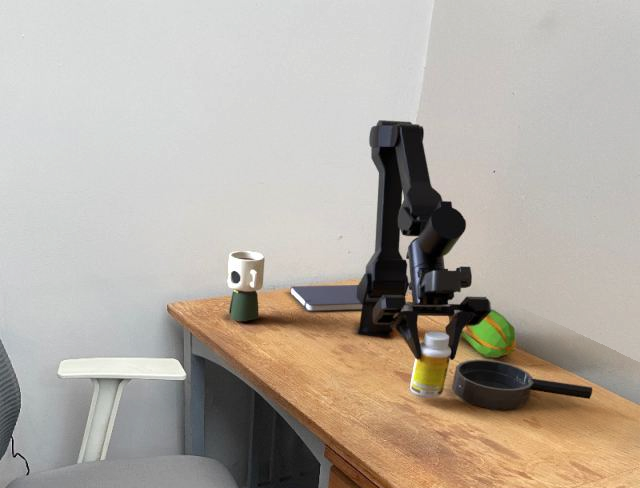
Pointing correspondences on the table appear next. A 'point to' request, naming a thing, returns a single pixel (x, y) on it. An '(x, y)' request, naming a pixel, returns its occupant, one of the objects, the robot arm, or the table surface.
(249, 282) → the character mug
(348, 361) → the table surface
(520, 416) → the table surface
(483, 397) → the skillet
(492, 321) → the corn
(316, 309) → the notebook
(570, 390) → the skillet handle
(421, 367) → the supplement bottle
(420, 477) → the table surface
